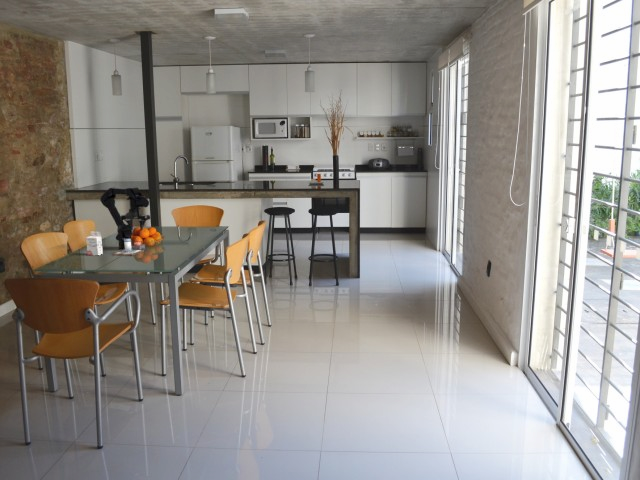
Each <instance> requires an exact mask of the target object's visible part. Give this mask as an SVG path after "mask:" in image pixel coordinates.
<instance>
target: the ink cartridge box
mask: <svg viewBox="0 0 640 480" xmlns="http://www.w3.org/2000/svg"><path fill="white" fill-rule="evenodd" d="M85 240H86V250H87V251H86V252H87V256H95V255H99V256H101V254H102V255H103V254H104V253H103V252H104V250H103V242H102V240H103V239H102V234H101V231H92V230H91V231H90V236H86V237H85Z"/></svg>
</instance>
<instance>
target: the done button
mask: <svg viewBox="0 0 640 480" xmlns="http://www.w3.org/2000/svg"><path fill="white" fill-rule="evenodd" d="M133 244H134V246H141V245H142V242H141V241H134V242H133Z"/></svg>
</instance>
